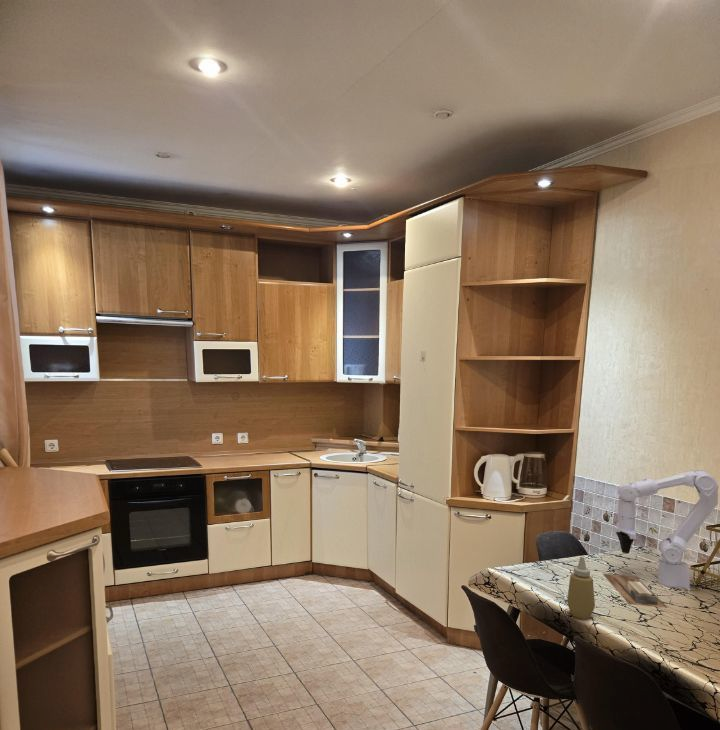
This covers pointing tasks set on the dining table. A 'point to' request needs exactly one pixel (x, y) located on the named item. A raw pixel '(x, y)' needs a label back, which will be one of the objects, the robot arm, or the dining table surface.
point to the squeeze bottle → (581, 592)
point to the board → (632, 598)
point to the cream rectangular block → (638, 588)
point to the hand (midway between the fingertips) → (625, 552)
